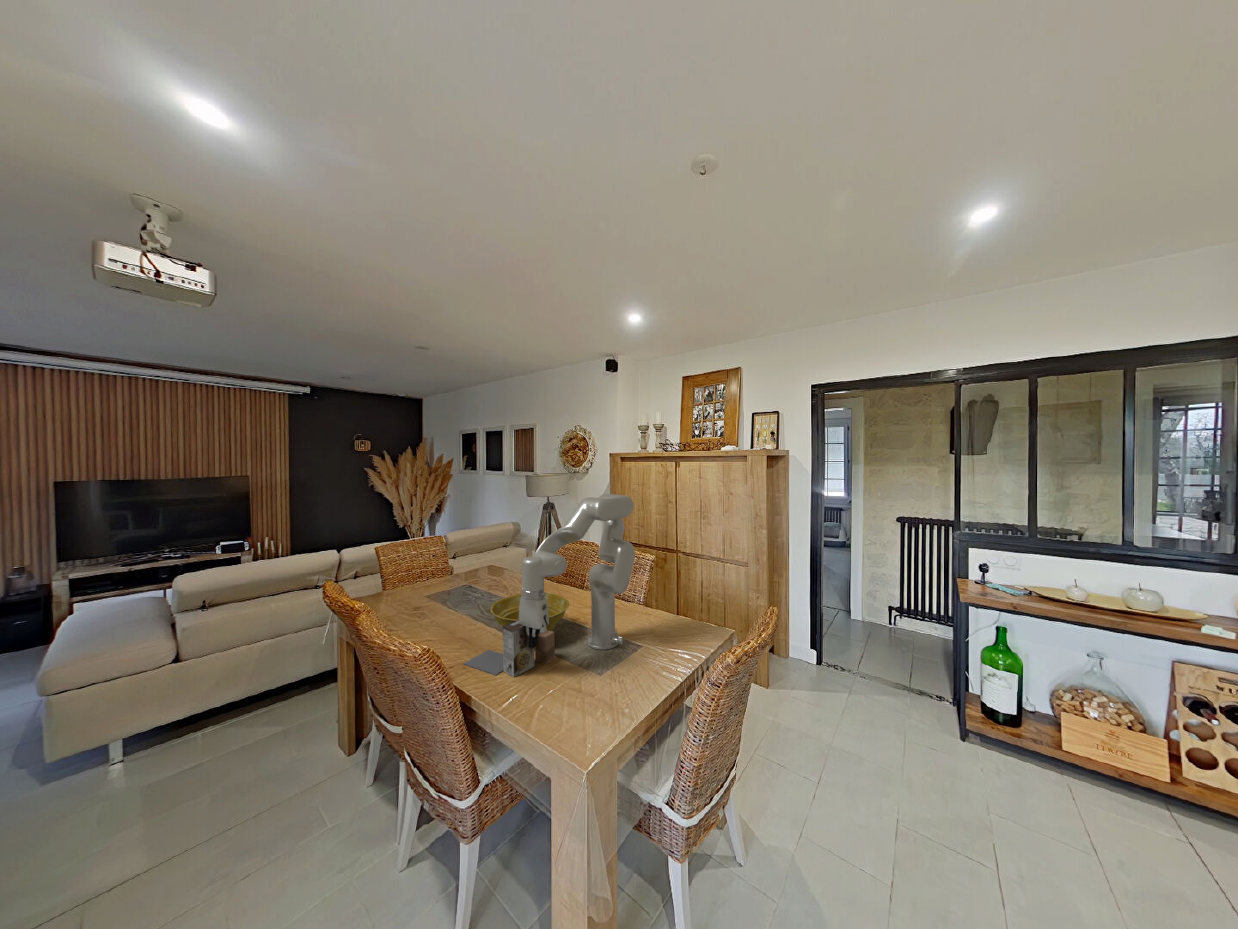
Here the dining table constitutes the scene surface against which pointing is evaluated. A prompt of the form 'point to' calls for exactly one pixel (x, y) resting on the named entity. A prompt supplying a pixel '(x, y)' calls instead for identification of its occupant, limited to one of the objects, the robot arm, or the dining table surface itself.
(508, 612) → the planter bowl
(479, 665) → the mat
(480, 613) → the dining table surface
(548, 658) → the walnut block
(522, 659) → the coffee box
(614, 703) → the dining table surface
